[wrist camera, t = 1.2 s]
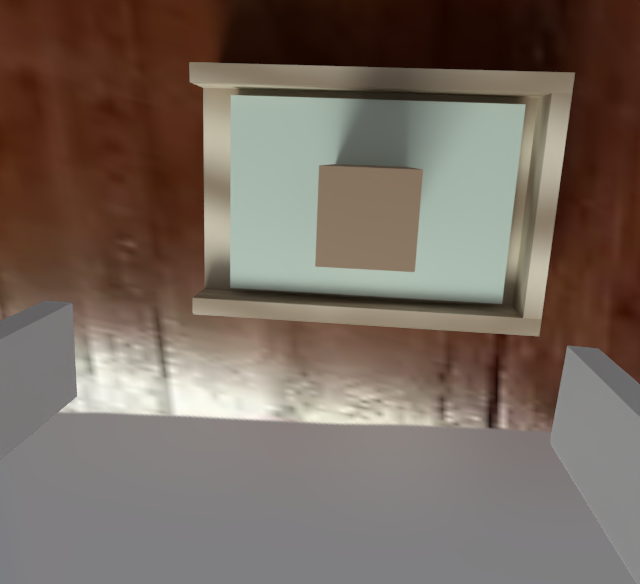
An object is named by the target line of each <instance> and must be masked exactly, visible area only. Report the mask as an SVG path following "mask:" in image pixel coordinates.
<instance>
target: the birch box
mask: <svg viewBox="0 0 640 584" xmlns="http://www.w3.org/2000/svg"><path fill="white" fill-rule="evenodd" d="M189 67H190V82H191V83H193V84H196V85H198V86H200V87H203V115H204V234H205V289H204V290H202V291H201V292H200V293H198V294H197V295H196V296H194V297H193V314H198V315H213V316H229V317H245V318H261V319H276V320H292V321H308V322H323V323H339V324H355V325H370V326H386V327H402V328H418V329H433V330H449V331H465V332H480V333H496V334H512V335H528V336H539V334H540V326H541V319H542V311H543V304H544V297H545V289H546V282H547V275H548V267H549V260H550V253H551V245H552V238H553V231H554V223H555V216H556V209H557V201H558V194H559V187H560V179H561V172H562V164H563V157H564V150H565V142H566V135H567V128H568V120H569V113H570V106H571V98H572V91H573V84H574V76H575V73H569V72H532V71H496V70H459V69H422V68H386V67H349V66H312V65H276V64H239V63H202V62H189ZM231 95H247V96H278V97H310V98H341V99H373V100H404V101H435V102H467V103H498V104H526V106H525V114H524V123H523V131H522V139H521V148H520V156H519V165H518V173H517V182H516V190H515V199H514V207H513V215H512V224H511V232H510V241H509V249H508V258H507V266H506V275H505V283H504V292H503V300H502V304H494V303H477V302H460V301H443V300H427V299H410V298H393V297H376V296H359V295H343V294H326V293H309V292H292V291H275V290H259V289H242V288H230V173H231Z"/></svg>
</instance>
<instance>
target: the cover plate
mask: <svg viewBox="0 0 640 584" xmlns="http://www.w3.org/2000/svg"><path fill="white" fill-rule="evenodd" d="M525 106H526V104H498V103H467V102H435V101H404V100H373V99H341V98H310V97H278V96H247V95H231V173H230V288H242V289H259V290H275V291H292V292H309V293H326V294H343V295H359V296H376V297H393V298H410V299H427V300H443V301H460V302H477V303H494V304H502V300H503V292H504V283H505V275H506V266H507V258H508V249H509V241H510V232H511V224H512V215H513V207H514V199H515V190H516V182H517V173H518V165H519V156H520V148H521V139H522V131H523V123H524V114H525Z"/></svg>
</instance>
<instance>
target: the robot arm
mask: <svg viewBox="0 0 640 584" xmlns="http://www.w3.org/2000/svg"><path fill="white" fill-rule="evenodd" d="M75 397H77V388H76V367H75V347H74V326H73V305H72V303H69V302H57V301H46V300H45V301H43V302H41V303H39V304H36V305H34V306H32V307H30V308H28V309H26V310H23V311H21V312H19V313H17V314H15V315H12V316H10V317H8V318H6V319H4V320H2V321H0V460H1V459H2V458H3V457H5V456H6V455H7V454H8V453H9V452H11V451H12V450H13V449H14V448H15V447H17V446H18V445H19V444H20V443H21V442H23V441H24V440H25V439H26V438H27V437H29V436H30V435H31V434H32V433H33V432H35V431H36V430H37V429H38V428H39V427H41V426H42V425H43V424H44V423H45V422H47V421H48V420H49V419H50V418H51V417H53V416H54V415H55V414H56V413H57V412H59V411H60V410H61V409H62V408H63V407H65V406H66V405H67V404H68V403H69V402H71V401H72V400H73V399H74V398H75ZM550 444H551V446H552V448H553V449H554V451H555V452H556V454H557V456H558V457H559V459H560V460H561V462H562V464H563V465H564V467H565V469H566V470H567V472H568V474H569V475H570V477H571V478H572V480H573V482H574V483H575V485H576V487H577V488H578V490H579V491H580V493H581V495H582V496H583V498H584V499H585V501H586V503H587V504H588V506H589V508H590V509H591V511H592V512H593V514H594V516H595V517H596V519H597V521H598V522H599V524H600V526H601V527H602V529H603V530H604V532H605V534H606V535H607V537H608V539H609V540H610V542H611V543H612V545H613V547H614V548H615V550H616V552H617V553H618V555H619V556H620V558H621V560H622V561H623V563H624V565H625V566H626V568H627V569H628V571H629V573H630V574H631V576H632V578H633V579H634V581H635V583H636V584H640V384H639V383H638V382H636V381H635V380H634V379H633V378H632V377H631V376H629V375H628V374H627V373H626V372H625V371H624V370H623V369H621V368H620V367H619V366H618V365H617V364H616V363H614V362H613V361H612V360H611V359H610V358H609V357H608V356H606V355H605V354H604V353H603V352H602V351H601V350H599V349H598V348H587V347H575V346H567V351H566V356H565V362H564V367H563V373H562V378H561V384H560V389H559V395H558V400H557V406H556V411H555V417H554V422H553V428H552V433H551V439H550Z"/></svg>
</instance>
